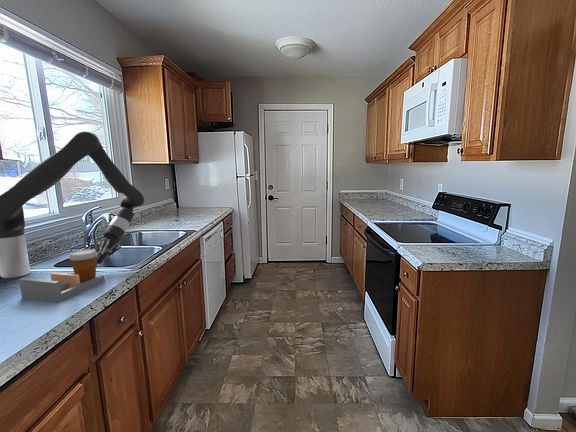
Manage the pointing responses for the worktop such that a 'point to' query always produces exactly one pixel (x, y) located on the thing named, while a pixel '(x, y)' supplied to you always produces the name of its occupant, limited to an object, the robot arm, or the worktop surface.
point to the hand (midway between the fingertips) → (97, 263)
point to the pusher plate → (65, 280)
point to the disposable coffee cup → (84, 264)
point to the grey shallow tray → (53, 289)
